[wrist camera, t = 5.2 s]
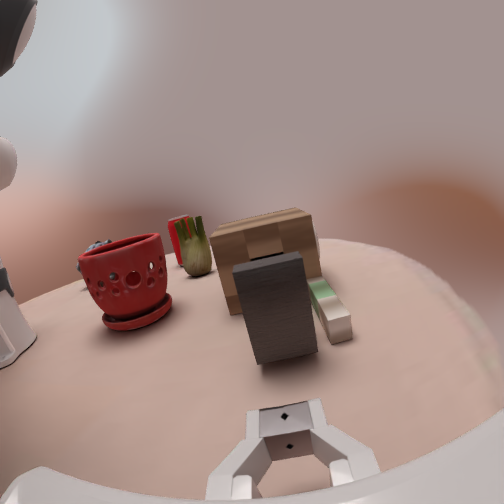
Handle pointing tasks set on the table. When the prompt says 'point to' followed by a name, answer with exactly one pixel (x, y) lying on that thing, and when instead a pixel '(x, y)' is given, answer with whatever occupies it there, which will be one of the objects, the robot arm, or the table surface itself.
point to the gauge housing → (279, 241)
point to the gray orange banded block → (276, 306)
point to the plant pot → (128, 281)
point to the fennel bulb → (194, 246)
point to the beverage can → (176, 236)
